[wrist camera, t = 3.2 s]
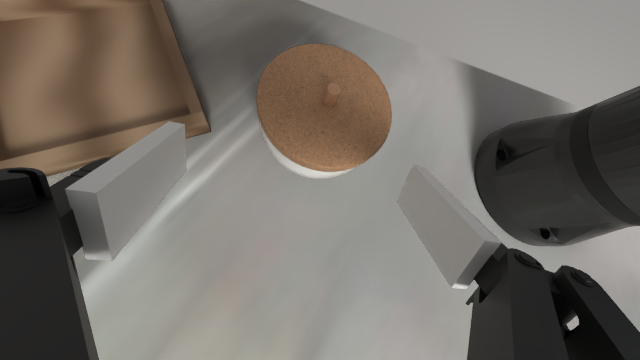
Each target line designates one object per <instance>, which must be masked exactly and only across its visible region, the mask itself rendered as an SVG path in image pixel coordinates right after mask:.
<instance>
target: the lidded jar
mask: <svg viewBox="0 0 640 360" xmlns="http://www.w3.org/2000/svg"><path fill="white" fill-rule="evenodd" d="M257 111H258V117H259V121H260V128H261V131H262V134H263V137H264V140H265V143H266V145H267V147H268V149H269V150H270V152H271V153H272V154H273V156H274V157H275V158H276V160H277V161H278V162H279V163H280V164H281V165H283V166H284V167H285V168H287V169H288V170H290V171H292V172H293V173H295V174H298V175H301V176H304V177H308V178H313V179H324V178H331V177H335V176H339V175H342V174H344V173H346V172H348V171H350V170H352V169H354V168H355V167H357V166H358V165H360V164H362V163H364V162H365V161H367V160H368V159H369V158H371V157H372V156H373V155H374V154H375V153H376V152H377V151H378V150H379V149H380V148H381V147H382V145H383V144H384V142H385V140H386V138H387V136H388V133H389V131H390V126H391V118H392V111H391V103H390V100H389V96H388V93H387V91H386V88H385V86H384V84H383V83H382V81H381V79H380V78H379V76H378V75H377V74H376V73H375V71H374V70H373V69H372V68H371V67H370V66H369V65H368V64H367V63H366V62H364V61H363V60H362V59H360V58H359V57H357V56H356V55H354V54H352V53H351V52H349V51H346V50H344V49H341V48H338V47H335V46H332V45H325V44H306V45H300V46H296V47H293V48H290V49H288V50H286V51H284V52H282V53H281V54H279V55H278V56H277V57H275V58H274V59H273V60H272V61H271V62H270V63H269V64H268V65H267V67H266V68H265V70H264V71H263V73H262V75H261V78H260V80H259V83H258V88H257Z"/></svg>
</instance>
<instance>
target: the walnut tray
mask: <svg viewBox="0 0 640 360" xmlns="http://www.w3.org/2000/svg"><path fill="white" fill-rule="evenodd" d="M169 121H170V122H175V123H181V124H185V139H186V138H190V137H193V136H197V135H201V134H204V133H208V132H211V130H210V128H209V125H208V122H207V119H206V117H205V114H204V111H203V109H202V106H201V103H200V101H199V98H198V95H197V93H196V90H195V87H194V84H193V82H192V79H191V76H190V74H189V71H188V68H187V66H186V63H185V60H184V57H183V55H182V52H181V49H180V47H179V44H178V41H177V39H176V36H175V33H174V30H173V28H172V25H171V22H170V20H169V17H168V14H167V12H166V9H165V6H164V3H163V1H162V0H0V169H4V168H16V167H25V168H35V169H38V170H41V171H42V172H43V173H44V174H45V175H46V177H47V176H51V175H54V174H58V173H62V172H65V171H69V170H73V169H76V168H80V167H84V166H85V165H87V164H89V163H91V162H94V161H97V160H100V159H104V158H109V159H112V158H113V157H115V156H116V155H118V154H120V153H121V152H123V151H124V150H126V149H127V148H129V147H130V146H132V145H133V144H135V143H136V142H138V141H139V140H141V139H143V138H144V137H146V136H147V135H149V134H150V133H152V132H153V131H155V130H156V129H158V128H159V127H161V126H163V125H164V124H166V123H167V122H169Z"/></svg>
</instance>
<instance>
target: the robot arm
mask: <svg viewBox="0 0 640 360" xmlns="http://www.w3.org/2000/svg"><path fill="white" fill-rule="evenodd" d="M185 172H186V142H185V124H181V123H175V122H170V121H169V122H167V123H166V124H164V125H163V126H161V127H159V128H158V129H156V130H155V131H153V132H152V133H150V134H149V135H147V136H146V137H144V138H143V139H141V140H139V141H138V142H136V143H135V144H133V145H132V146H130V147H129V148H127V149H126V150H124V151H123V152H121V153H120V154H118V155H116V156H115V157H113V158H112V159H109V158H104V159H100V160H97V161H94V162H91V163H89V164H87V165H85V166H84V167H82V168H80V169H79V171H76V172H74V173H72V174H71V175H70V176H67V177H66V178H64V179H62V180H61V181H59V182H57V183H56V184H54V185H52V186H51V187H49V184H48V181H47V178H46V175H45V174H44V173H43V172H42V171H41V170H38V169H35V168H25V167H16V168H4V169H0V360H99V358H98V354H97V350H96V346H95V342H94V338H93V334H92V330H91V326H90V322H89V318H88V314H87V310H86V305H85V301H84V297H83V293H82V289H81V285H80V281H79V277H78V273H77V269H76V265H75V261H74V259H73V255H74V254H75V253H76V252H77V251H78V250H79V249H80V248H81V247H83V250H84V253H85V257H86V259H92V260H105V261H113V260H114V258H115V257H116V256H117V255H118V253H119V252H120V251H121V250H122V249H123V247H124V246H125V245H126V244H127V243H128V241H129V240H130V239H131V238H132V236H133V235H134V234H135V233H136V232H137V230H138V229H139V228H140V227H141V225H142V224H143V223H144V222H145V221H146V219H147V218H148V217H149V216H150V215H151V213H152V212H153V211H154V210H155V208H156V207H157V206H158V205H159V204H160V202H161V201H162V200H163V199H164V197H165V196H166V195H167V194H168V193H169V191H170V190H171V189H172V188H173V187H174V185H175V184H176V183H177V182H178V180H179V179H180V178H181V177H182V176H183V174H184V173H185ZM476 181H477V186H478V189H479V193H480V195H481V198H482V200H483V203H484V205H485V207H486V208H487V210H488V212H489V213H490V215H491V216H492V217H493V219H494V220H495V221H496V223H497V224H498V225H499V226H500V227H501V228H502V229H503V230H504V231H506V232H507V233H508V234H509V235H511V236H512V237H514V238H515V239H517V240H519V241H521V242H523V243H526V244H529V245H534V246H565V245H571V244H574V243H577V242H581V241H584V240H587V239H590V238H594V237H597V236H600V235H604V234H607V233H610V232H613V231H617V230H620V229H623V228H626V227H631V226H640V86H638V87H636V88H633V89H631V90H628V91H626V92H624V93H621V94H619V95H616V96H614V97H611V98H609V99H607V100H604V101H602V102H600V103H597V104H595V105H593V106H590V107H588V108H585V109H583V110H580V111H578V112H574V113H569V114H563V115H556V116H550V117H544V118H538V119H532V120H526V121H520V122H516V123H513V124H510V125H508V126H506V127H504V128H502V129H500V130H498V131H496V132H494V133H492V134H491V135H489V136H488V137H487V138H486V139H485V140H484V142H483V143H482V145H481V147H480V149H479V151H478V154H477V159H476ZM397 203H398V204H399V206H400V208H401V209H402V211H403V212H404V214H405V216H406V217H407V219H408V220H409V222H410V223H411V225H412V227H413V228H414V230H415V231H416V233H417V234H418V236H419V238H420V239H421V241H422V242H423V244H424V245H425V247H426V249H427V250H428V252H429V253H430V255H431V256H432V258H433V260H434V261H435V263H436V264H437V266H438V267H439V269H440V271H441V272H442V274H443V275H444V277H445V278H446V280H447V282H448V283H449V285H450V286H451V288H461V289H467V288H468V286H469V285H470V284H471V282H472V281H473V280H475V281H476V282H477V284H478V285H479V287H478V288H477V289H476V290H475V292H474V293H473V294H472V296H471V297H470V298H469V299H468V301H467V302H466V304H467V305H469V304H470V303H472V302H473V307H472V308H473V310H472V319H471V329H470V338H469V347H468V356H467V360H640V332H639V331H638V330H637V329H636V327H635V326H634V325H633V324H632V323H631V321H630V320H629V319H628V318H627V317H626V316H625V314H624V313H623V312H622V311H621V310H620V308H619V307H618V306H617V305H616V304H615V302H614V301H613V300H612V299H611V298H610V297H609V295H608V294H607V293H606V292H605V291H604V289H603V288H602V287H601V286H600V285H599V284H598V283H597V282H596V281H595V280H593V279H592V278H591V277H590V276H589V275H588V274H586V273H584V272H583V271H581V270H577V269H575V268H573V267H570V266H561V267H560V268H559V269H558V270H557V271H556V272H555V273H552V272H549V271H546V270H544V268H543V266H542V265H541V264H540V263H539V262H538V261H537V260H536V259H534V258H533V257H532V256H530V255H528V254H526V253H525V252H522V251H520V250H517V249H513V248H511V249H508V248H507V247H506V246H505V245H503V244H502V243H501V242H500V241H499V240H498V239H497V238H496V237H495V236H494V235H493V234H492V233H491V232H490V231H489V230H488V229H487V228H486V227H485V226H484V225H483V224H482V223H481V222H480V221H479V220H478V219H477V218H476V217H475V216H474V215H473V214H472V213H470V212H469V211H468V210H467V209H466V208H465V207H464V206H463V205H462V204H461V203H460V202H459V201H458V200H457V199H456V198H455V197H454V196H453V195H452V194H451V193H450V192H449V191H448V190H447V189H446V188H445V187H444V186H443V185H442V184H441V183H440V182H439V181H438V180H437V179H436V178H435V177H434V176H433V175H432V174H431V173H430V172H429V171H428V170H427V169H425V168H424V167H421V166H415V165H413V166H412V168H411V171H410V173H409V175H408V177H407V180H406V182H405V184H404V186H403V189H402V191H401V193H400V195H399V198H398V200H397ZM576 315H577V316H578V319H579V325H578V326H577V327H576V328H574V329H573V330H571V331H570V330H569V329H568V327H567V325H566V324H567V323H568V322H569V321H571V320H572V319H573V318H574V317H575V316H576Z"/></svg>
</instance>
